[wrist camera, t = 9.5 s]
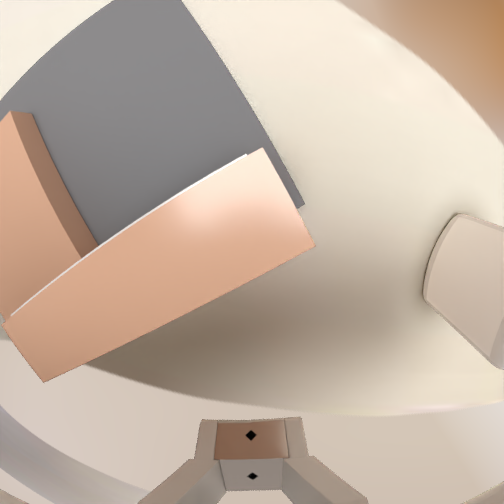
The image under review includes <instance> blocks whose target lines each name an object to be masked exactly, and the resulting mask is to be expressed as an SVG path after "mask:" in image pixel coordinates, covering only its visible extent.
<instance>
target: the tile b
mask: <svg viewBox="0 0 504 504" xmlns="http://www.w3.org/2000/svg"><path fill="white" fill-rule="evenodd" d="M313 247H315V244H314V242H313V240H312V238H311V236H310V234H309V232H308V230H307V228H306V226H305V224H304V222H303V220H302V218H301V216H300V215H299V213H298V211H297V209H296V207H295V205H294V203H293V201H292V199H291V198H290V196H289V194H288V192H287V190H286V188H285V187H284V185H283V183H282V181H281V179H280V177H279V176H278V174H277V172H276V170H275V168H274V167H273V165H272V163H271V161H270V159H269V158H268V156H267V154H266V152H265V151H264V149H263V147H262V148H260V149H258V150H257V151H255V152H253V153H251V154H249V155H247V154H245V155H243V156H241V157H239V158H237V159H236V160H234V161H232V162H230V163H228V164H227V165H225V166H223V167H221V168H220V169H218V170H216V171H214V172H213V173H211V174H209V175H208V176H206V177H204V178H203V179H201V180H199V181H198V182H196V183H194V184H193V185H191V186H189V187H188V188H186V189H184V190H183V191H181V192H179V193H178V194H176V195H175V196H173V197H171V198H170V199H168V200H167V201H165V202H164V203H162V204H160V205H159V206H157V207H156V208H154V209H153V210H151V211H150V212H148V213H146V214H145V215H143V216H142V217H140V218H139V219H137V220H136V221H134V222H133V223H131V224H130V225H128V226H127V227H125V228H124V229H123V230H121V231H120V232H118V233H117V234H115V235H114V236H112V237H111V238H110V239H108V240H107V241H105V242H104V243H102V244H101V245H100V246H98V247H97V248H95V249H94V250H93V251H91V252H90V253H88V254H87V255H86V256H84V257H83V258H82V259H80V260H79V261H78V262H76V263H75V264H74V265H72V266H71V267H70V268H68V269H67V270H66V271H64V272H63V273H62V274H60V275H59V276H58V277H57V278H55V279H54V280H53V281H51V282H50V283H49V284H48V285H46V286H45V287H44V288H43V289H41V290H40V291H39V292H38V293H36V294H35V295H34V296H33V297H31V298H30V299H29V300H28V301H27V302H25V303H24V304H23V305H22V306H21V307H19V308H18V309H17V310H16V311H15V312H13V313H12V314H11V317H10V318H9V319H8V320H6V321H5V322H4V323H3V324H2V327H3V328H4V330H5V331H6V333H7V334H8V336H9V337H10V339H11V340H12V342H13V343H14V345H15V346H16V347H17V349H18V350H19V352H20V353H21V354H22V356H23V357H24V358H25V360H26V361H27V362H28V364H29V365H30V366H31V367H32V369H33V370H34V371H35V373H36V374H37V375H38V376H39V378H40V379H41V380H42V381H43V382H46V381H49V380H51V379H53V378H55V377H57V376H59V375H61V374H64V373H66V372H68V371H70V370H72V369H74V368H76V367H78V366H81V365H83V364H85V363H87V362H89V361H91V360H93V359H95V358H97V357H99V356H101V355H104V354H106V353H108V352H110V351H112V350H114V349H116V348H118V347H120V346H122V345H124V344H126V343H128V342H130V341H132V340H134V339H136V338H138V337H141V336H143V335H145V334H147V333H149V332H151V331H153V330H155V329H157V328H159V327H161V326H163V325H165V324H167V323H169V322H171V321H173V320H175V319H177V318H179V317H181V316H183V315H185V314H187V313H189V312H191V311H193V310H195V309H196V308H198V307H200V306H202V305H204V304H206V303H208V302H210V301H212V300H214V299H216V298H218V297H220V296H222V295H224V294H226V293H228V292H230V291H232V290H234V289H235V288H237V287H239V286H241V285H243V284H245V283H247V282H249V281H251V280H253V279H255V278H257V277H258V276H260V275H262V274H264V273H266V272H268V271H270V270H272V269H274V268H276V267H277V266H279V265H281V264H283V263H285V262H287V261H289V260H291V259H292V258H294V257H296V256H298V255H300V254H302V253H304V252H306V251H307V250H309V249H311V248H313Z"/></svg>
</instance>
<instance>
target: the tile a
mask: <svg viewBox="0 0 504 504" xmlns="http://www.w3.org/2000/svg"><path fill="white" fill-rule="evenodd" d="M97 247H98V244H97V242H96V241H95V239H94V237H93V236H92V234H91V232H90V230H89V229H88V227H87V225H86V223H85V222H84V220H83V218H82V216H81V215H80V213H79V211H78V209H77V207H76V206H75V204H74V202H73V200H72V198H71V196H70V194H69V192H68V191H67V189H66V187H65V185H64V183H63V181H62V179H61V177H60V175H59V173H58V171H57V169H56V167H55V165H54V163H53V161H52V158H51V156H50V154H49V152H48V150H47V148H46V146H45V143H44V141H43V139H42V137H41V134H40V132H39V130H38V127H37V125H36V123H35V120H34V118H33V115H32V114H31V113H24V112H16V111H9V112H8V114H7V115H6V116H5V117H4V118H3V119H2V120H1V122H0V313H1V314H2V316H3V317H4V319H5V321H6V320H8V319H9V318H10V317H11V314H12V313H13V312H15V311H16V310H17V309H18V308H19V307H21V306H22V305H23V304H24V303H25V302H27V301H28V300H29V299H30V298H31V297H33V296H34V295H35V294H36V293H38V292H39V291H40V290H41V289H43V288H44V287H45V286H46V285H48V284H49V283H50V282H51V281H53V280H54V279H55V278H57V277H58V276H59V275H60V274H62V273H63V272H64V271H66V270H67V269H68V268H70V267H71V266H72V265H74V264H75V263H76V262H78V261H79V260H80V259H82V258H83V257H84V256H86V255H87V254H88V253H90V252H91V251H93V250H94V249H95V248H97Z"/></svg>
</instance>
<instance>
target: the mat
mask: <svg viewBox="0 0 504 504" xmlns="http://www.w3.org/2000/svg"><path fill="white" fill-rule="evenodd" d="M9 111H16V112H24V113H31V114H32V115H33V118H34V120H35V123H36V125H37V127H38V130H39V132H40V134H41V137H42V139H43V141H44V143H45V146H46V148H47V150H48V152H49V154H50V156H51V158H52V161H53V163H54V165H55V167H56V169H57V171H58V173H59V175H60V177H61V179H62V181H63V183H64V185H65V187H66V189H67V191H68V192H69V194H70V196H71V198H72V200H73V202H74V204H75V206H76V207H77V209H78V211H79V213H80V215H81V216H82V218H83V220H84V222H85V223H86V225H87V227H88V229H89V230H90V232H91V234H92V236H93V237H94V239H95V241H96V242H97V244H98V246H100V245H101V244H102V243H104V242H105V241H107V240H108V239H110V238H111V237H112V236H114V235H115V234H117V233H118V232H120V231H121V230H123V229H124V228H125V227H127V226H128V225H130V224H131V223H133V222H134V221H136V220H137V219H139V218H140V217H142V216H143V215H145V214H146V213H148V212H150V211H151V210H153V209H154V208H156V207H157V206H159V205H160V204H162V203H164V202H165V201H167V200H168V199H170V198H171V197H173V196H175V195H176V194H178V193H179V192H181V191H183V190H184V189H186V188H188V187H189V186H191V185H193V184H194V183H196V182H198V181H199V180H201V179H203V178H204V177H206V176H208V175H209V174H211V173H213V172H214V171H216V170H218V169H220V168H221V167H223V166H225V165H227V164H228V163H230V162H232V161H234V160H236V159H237V158H239V157H241V156H243V155H245V154H247V155H249V154H251V153H253V152H255V151H257V150H258V149H260V148H262V147H263V149H264V151H265V152H266V154H267V156H268V158H269V159H270V161H271V163H272V165H273V167H274V168H275V170H276V172H277V174H278V176H279V177H280V179H281V181H282V183H283V185H284V187H285V188H286V190H287V192H288V194H289V196H290V198H291V199H292V201H293V203H294V205H295V207H296V209H297V208H299V207H301V206H303V205H304V204H305V203H304V201H303V199H302V197H301V195H300V193H299V191H298V190H297V188H296V186H295V184H294V182H293V180H292V178H291V176H290V175H289V173H288V171H287V169H286V167H285V166H284V164H283V162H282V160H281V158H280V157H279V155H278V153H277V151H276V149H275V148H274V146H273V144H272V142H271V141H270V139H269V137H268V135H267V134H266V132H265V130H264V128H263V127H262V125H261V123H260V122H259V120H258V118H257V116H256V115H255V113H254V111H253V110H252V108H251V106H250V105H249V103H248V101H247V100H246V98H245V97H244V95H243V93H242V92H241V90H240V88H239V87H238V85H237V84H236V82H235V80H234V79H233V77H232V76H231V74H230V72H229V71H228V69H227V68H226V66H225V65H224V63H223V61H222V60H221V58H220V57H219V55H218V54H217V52H216V51H215V49H214V48H213V46H212V45H211V43H210V42H209V40H208V39H207V37H206V36H205V34H204V33H203V31H202V30H201V28H200V27H199V25H198V24H197V22H196V21H195V20H194V18H193V17H192V15H191V14H190V12H189V11H188V10H187V8H186V7H185V5H184V4H183V3H182V1H181V0H114V1H112V2H111V3H109V4H108V5H106V6H105V7H103V8H102V9H100V10H99V11H97V12H96V13H95V14H93V15H92V16H91V17H89V18H88V19H87V20H85V21H84V22H83V23H81V24H80V25H79V26H77V27H76V28H75V29H74V30H72V31H71V32H70V33H69V34H68V35H66V36H65V37H64V38H63V39H62V40H60V41H59V42H58V43H57V44H56V45H55V46H53V47H52V48H51V49H50V50H49V51H48V52H47V53H46V54H45V55H44V56H42V57H41V58H40V59H39V60H38V61H37V62H36V63H35V64H34V65H33V66H32V67H31V68H30V69H29V70H28V71H27V72H26V73H25V74H24V75H23V76H22V77H21V78H20V79H19V80H18V81H17V82H16V84H15V85H14V86H13V87H12V88H11V89H10V90H9V91H8V92H7V93H6V95H5V96H4V97H3V98H2V99H1V100H0V122H1V120H2V119H3V118H4V117H5V116H6V115H7V114H8V112H9Z"/></svg>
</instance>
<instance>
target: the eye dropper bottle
mask: <svg viewBox="0 0 504 504" xmlns="http://www.w3.org/2000/svg"><path fill="white" fill-rule="evenodd" d="M423 295H424V299H425V302H426V303H427V304H428V305H429V306H430V307H432V308H433V309H434V310H435V311H436V312H437V313H438V314H439V315H440V316H441V317H442V318H444V319H445V320H446V321H447V322H448V323H449V324H450V325H451V326H452V327H453V328H454V329H455V330H456V331H457V332H459V333H460V334H461V335H462V336H463V337H464V338H465V339H466V340H467V341H468V342H469V343H470V344H471V345H472V346H473V347H474V348H475V349H476V350H477V351H478V352H480V353H481V354H482V355H483V356H484V357H485V358H486V359H487V360H488V361H489V362H490V363H491V364H492V365H494V366H495V367H496V368H499V369H502V370H504V227H502V226H499V225H496V224H493V223H490V222H487V221H484V220H481V219H478V218H475V217H472V216H469V215H466V214H458V215H456V216H455V217H453V218H452V220H451V221H450V222H449V223H448V225H447V226H446V227H445V229H444V230H443V232H442V234H441V235H440V237H439V239H438V241H437V243H436V245H435V247H434V249H433V252H432V254H431V257H430V260H429V263H428V267H427V271H426V275H425V281H424V289H423Z"/></svg>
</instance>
